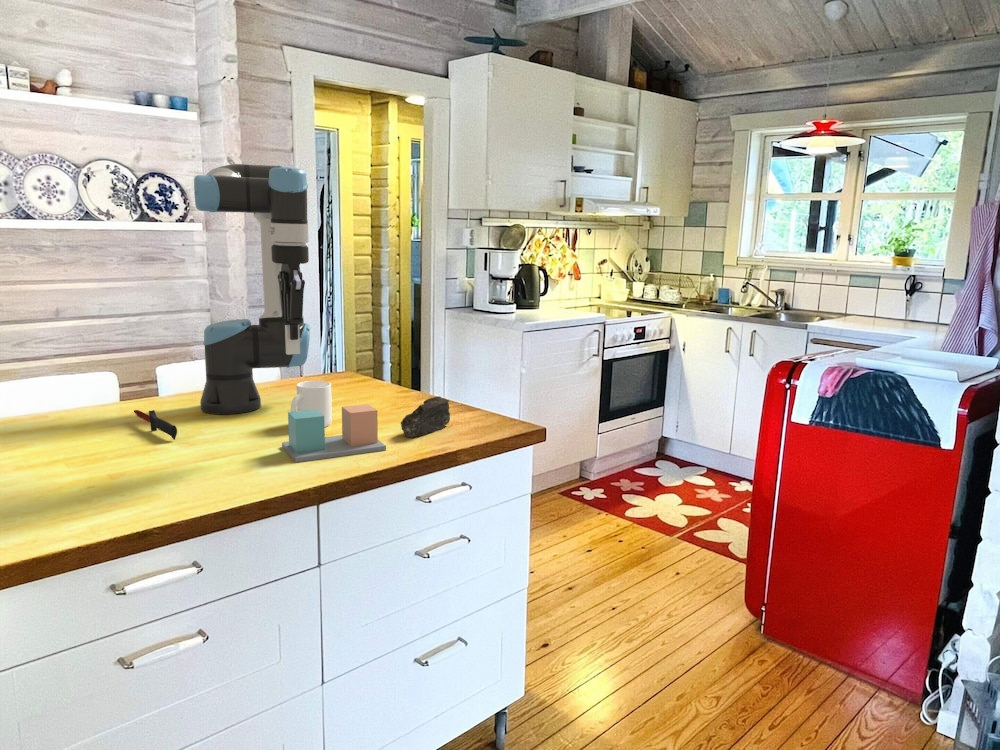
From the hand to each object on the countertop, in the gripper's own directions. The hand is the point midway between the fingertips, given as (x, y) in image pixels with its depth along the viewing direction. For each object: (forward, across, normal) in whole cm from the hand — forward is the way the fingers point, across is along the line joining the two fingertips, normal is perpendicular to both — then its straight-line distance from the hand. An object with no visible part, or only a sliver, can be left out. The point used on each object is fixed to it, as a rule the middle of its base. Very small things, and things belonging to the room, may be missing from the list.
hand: (292, 353), depth 155 cm
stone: (+22, +2, +31) cm, 38 cm away
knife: (+22, -26, -27) cm, 43 cm away
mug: (+22, -14, +7) cm, 27 cm away
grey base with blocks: (+21, +6, +7) cm, 23 cm away
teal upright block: (+20, +6, +1) cm, 21 cm away
